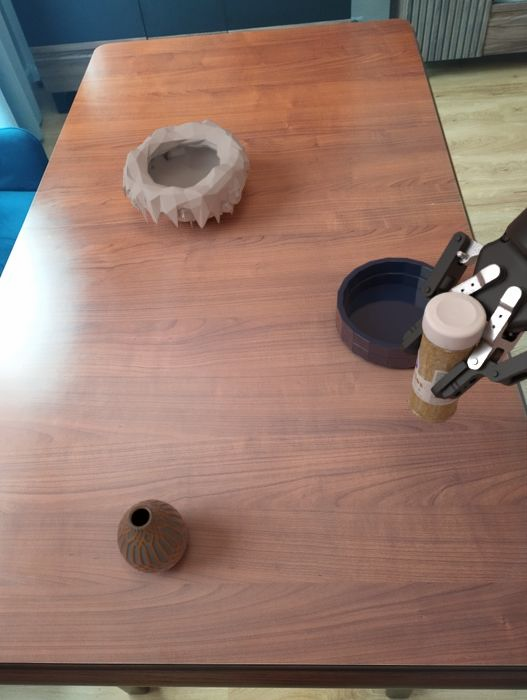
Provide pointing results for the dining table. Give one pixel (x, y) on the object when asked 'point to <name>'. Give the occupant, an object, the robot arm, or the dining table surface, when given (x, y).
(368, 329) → the pan
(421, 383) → the sprinkles bottle
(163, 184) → the bowl
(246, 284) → the dining table surface
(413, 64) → the dining table surface
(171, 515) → the vase
